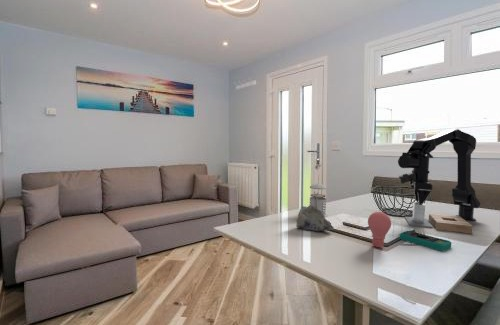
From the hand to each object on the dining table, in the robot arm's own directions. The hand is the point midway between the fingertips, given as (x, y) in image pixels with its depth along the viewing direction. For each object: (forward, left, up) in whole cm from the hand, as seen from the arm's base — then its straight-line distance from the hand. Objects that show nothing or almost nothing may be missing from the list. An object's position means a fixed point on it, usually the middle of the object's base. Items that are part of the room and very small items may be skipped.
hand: (418, 202), depth 123 cm
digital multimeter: (+29, -2, -10) cm, 31 cm away
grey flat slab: (0, 0, -9) cm, 9 cm away
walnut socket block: (0, +12, -9) cm, 15 cm away
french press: (+8, -43, -9) cm, 45 cm away
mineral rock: (+32, -41, -9) cm, 53 cm away
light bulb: (+41, -17, -9) cm, 45 cm away
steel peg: (0, 0, -8) cm, 9 cm away
